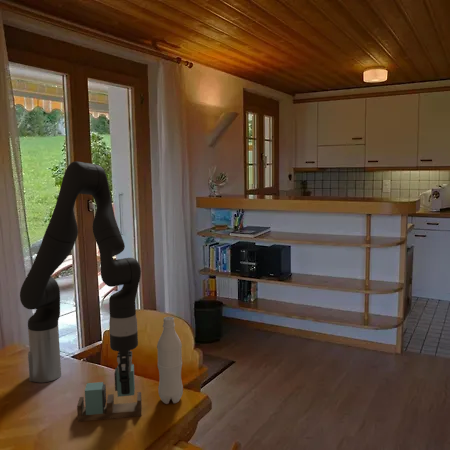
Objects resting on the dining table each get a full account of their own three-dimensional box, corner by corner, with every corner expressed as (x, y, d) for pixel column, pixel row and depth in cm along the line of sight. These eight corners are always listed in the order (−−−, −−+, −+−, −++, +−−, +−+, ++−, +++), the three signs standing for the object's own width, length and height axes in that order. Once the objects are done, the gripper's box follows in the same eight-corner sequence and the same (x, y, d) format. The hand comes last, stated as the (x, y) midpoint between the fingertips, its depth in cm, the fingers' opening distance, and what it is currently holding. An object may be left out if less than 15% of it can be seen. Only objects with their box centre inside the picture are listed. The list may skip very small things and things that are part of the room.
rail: (77, 421, 129) (77, 405, 128) (80, 412, 134) (79, 397, 133) (141, 415, 131) (140, 400, 131) (141, 406, 136) (141, 391, 136)
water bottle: (179, 407, 136) (176, 323, 133) (155, 404, 137) (152, 321, 134) (186, 395, 143) (184, 315, 139) (163, 393, 144) (160, 313, 141)
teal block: (134, 387, 135) (133, 364, 134) (134, 395, 130) (133, 371, 130) (116, 389, 134) (115, 365, 133) (115, 396, 130) (114, 372, 129)
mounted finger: (85, 415, 129) (84, 390, 128) (88, 406, 133) (86, 383, 133) (105, 413, 130) (103, 389, 129) (106, 405, 134) (105, 381, 133)
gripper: (136, 338, 124) (139, 400, 126) (138, 321, 138) (140, 377, 140) (107, 340, 123) (110, 403, 125) (111, 322, 137) (114, 379, 139)
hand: (126, 389), depth 132 cm, fingers closed on teal block, 4 cm apart
